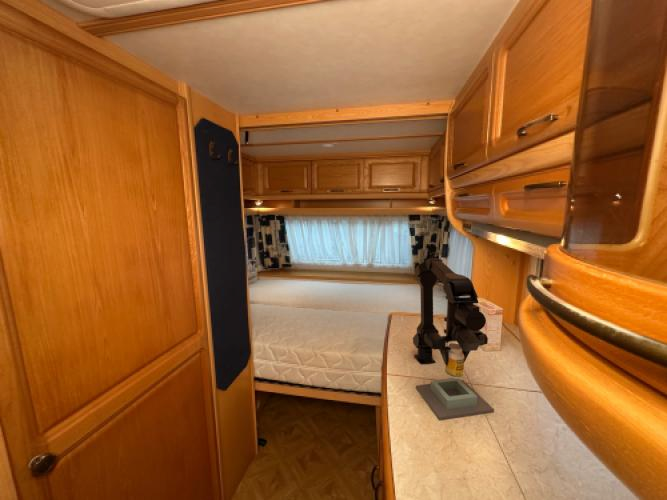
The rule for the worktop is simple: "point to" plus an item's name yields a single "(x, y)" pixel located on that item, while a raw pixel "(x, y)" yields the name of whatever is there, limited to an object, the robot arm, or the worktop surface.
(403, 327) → the worktop surface
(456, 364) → the supplement bottle
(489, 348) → the coffeecake box
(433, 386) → the socket
